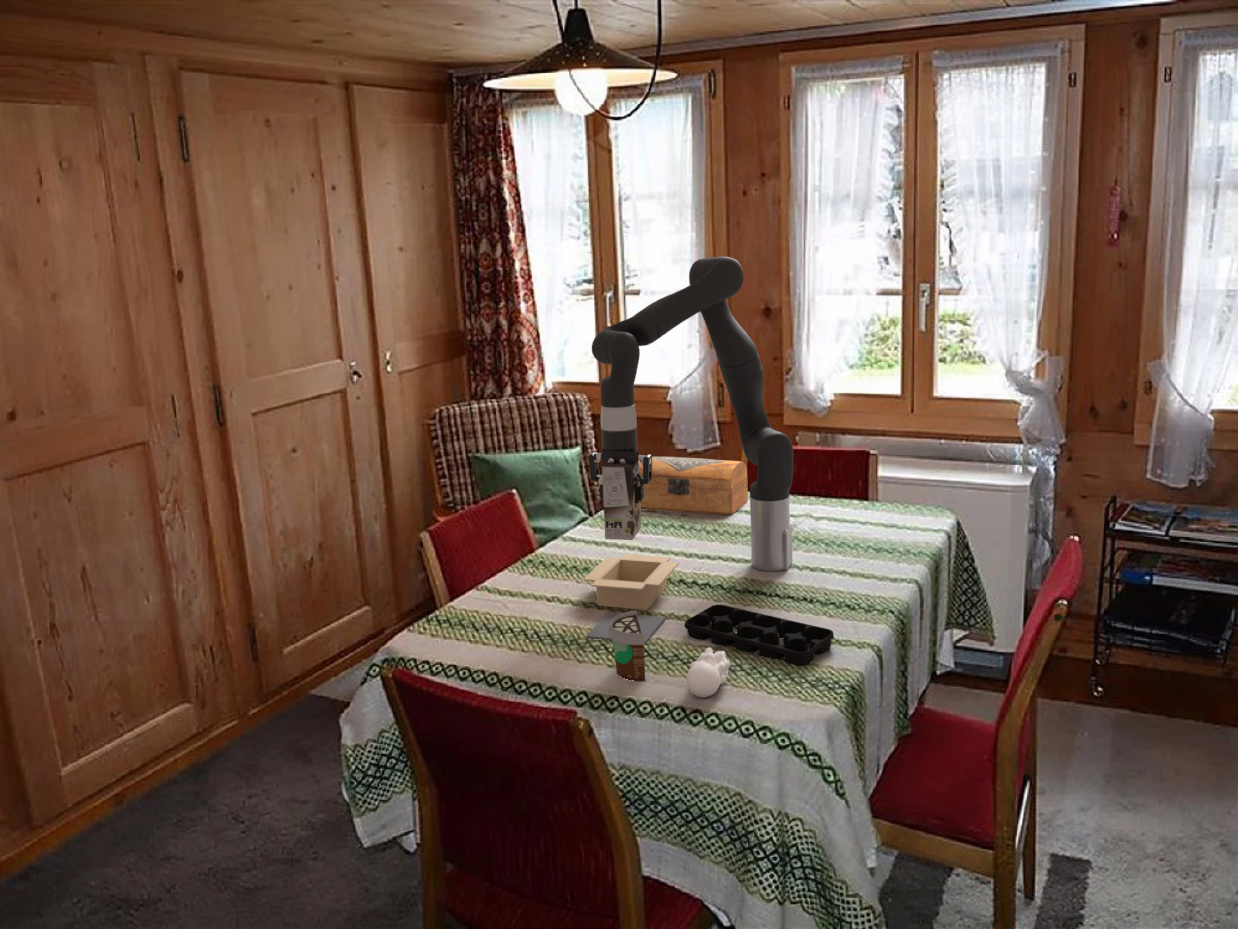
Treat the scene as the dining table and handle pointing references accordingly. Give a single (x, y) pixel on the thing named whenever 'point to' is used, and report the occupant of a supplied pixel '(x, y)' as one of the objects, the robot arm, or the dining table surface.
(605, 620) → the rubber mat
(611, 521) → the coffee box
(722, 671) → the figurine
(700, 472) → the wooden box
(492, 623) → the dining table surface
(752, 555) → the robot arm
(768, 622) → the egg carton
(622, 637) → the food container
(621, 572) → the carton
